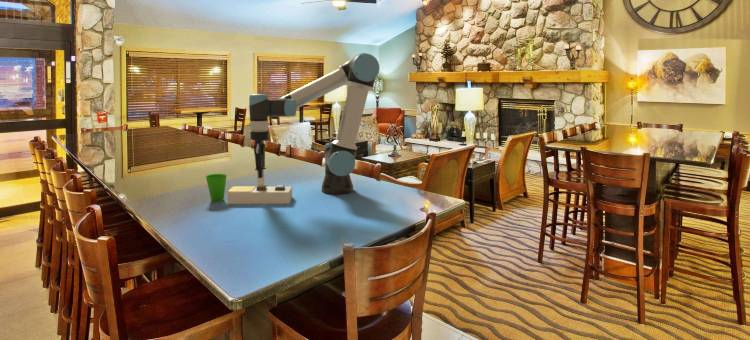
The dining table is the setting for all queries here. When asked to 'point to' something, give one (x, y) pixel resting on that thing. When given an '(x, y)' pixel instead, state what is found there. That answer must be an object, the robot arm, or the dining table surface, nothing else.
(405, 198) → the dining table surface
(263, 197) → the box
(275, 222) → the dining table surface
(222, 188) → the cup
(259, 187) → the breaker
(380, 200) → the dining table surface
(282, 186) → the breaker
